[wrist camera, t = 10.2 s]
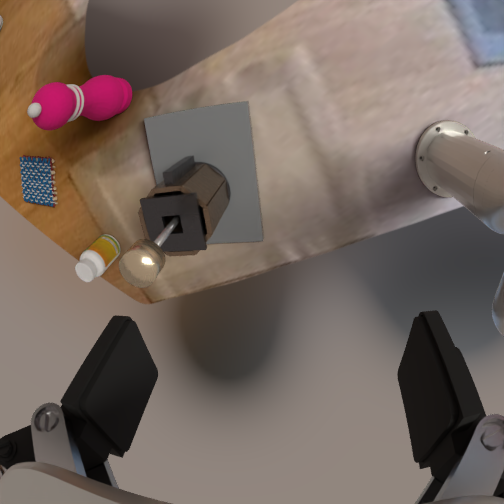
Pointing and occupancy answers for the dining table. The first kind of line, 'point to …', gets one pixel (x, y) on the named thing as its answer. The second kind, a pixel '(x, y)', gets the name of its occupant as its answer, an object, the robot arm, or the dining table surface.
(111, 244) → the supplement bottle
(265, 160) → the dining table surface
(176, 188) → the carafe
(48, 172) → the woven mat
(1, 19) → the energy drink can
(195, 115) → the slate board
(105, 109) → the pepper mill
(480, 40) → the dining table surface
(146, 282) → the plunger
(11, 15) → the dining table surface
